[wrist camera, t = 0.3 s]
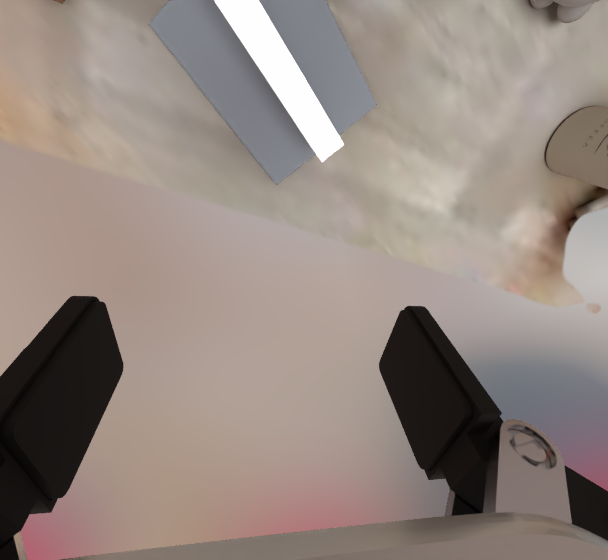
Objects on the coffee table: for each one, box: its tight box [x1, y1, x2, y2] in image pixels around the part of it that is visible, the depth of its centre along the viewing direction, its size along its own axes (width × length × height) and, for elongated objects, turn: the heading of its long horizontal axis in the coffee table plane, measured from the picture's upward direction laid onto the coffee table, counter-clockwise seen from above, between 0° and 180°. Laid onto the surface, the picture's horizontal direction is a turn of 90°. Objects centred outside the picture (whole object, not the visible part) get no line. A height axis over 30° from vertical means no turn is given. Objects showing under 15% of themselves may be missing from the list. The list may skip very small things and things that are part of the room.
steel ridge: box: [213, 0, 344, 162], centre depth 26 cm, size 2×16×8 cm, turn 36°
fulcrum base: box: [148, 0, 377, 185], centre depth 30 cm, size 14×18×2 cm
